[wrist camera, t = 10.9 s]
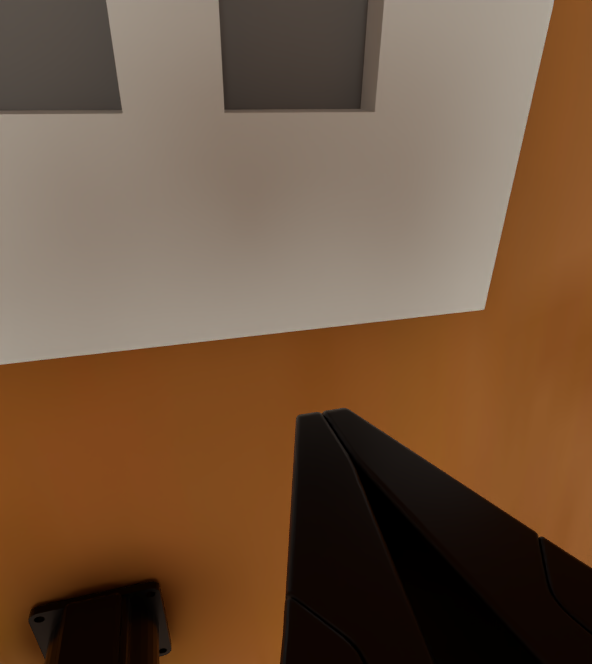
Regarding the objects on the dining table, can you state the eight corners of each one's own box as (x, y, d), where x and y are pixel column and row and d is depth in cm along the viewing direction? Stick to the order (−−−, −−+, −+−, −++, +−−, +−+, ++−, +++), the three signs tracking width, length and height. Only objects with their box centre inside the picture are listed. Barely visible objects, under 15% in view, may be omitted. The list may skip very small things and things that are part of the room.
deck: (465, 295, 22) (520, 336, 19) (-275, 373, 16) (-389, 455, 13) (536, -56, 16) (638, -87, 13) (-632, -157, 10) (-1045, -273, 6)
